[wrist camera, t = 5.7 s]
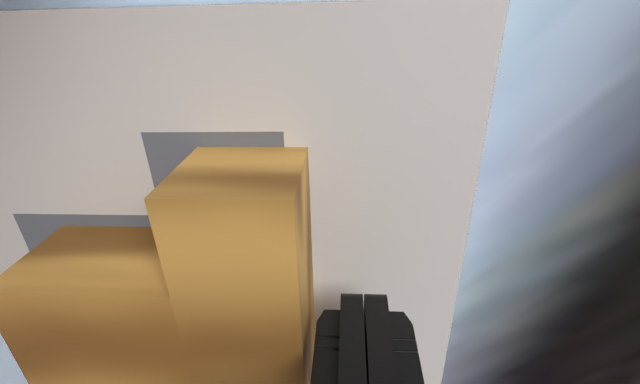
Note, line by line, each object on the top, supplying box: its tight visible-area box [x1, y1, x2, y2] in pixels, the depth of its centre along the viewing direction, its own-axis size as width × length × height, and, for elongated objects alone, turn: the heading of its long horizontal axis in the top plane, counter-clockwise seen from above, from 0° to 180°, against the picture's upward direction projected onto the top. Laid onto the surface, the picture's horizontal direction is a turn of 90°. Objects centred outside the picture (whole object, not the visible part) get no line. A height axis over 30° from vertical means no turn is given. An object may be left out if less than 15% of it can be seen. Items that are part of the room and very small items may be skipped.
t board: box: [0, 0, 510, 384], centre depth 15 cm, size 18×18×1 cm
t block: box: [0, 147, 315, 384], centre depth 13 cm, size 10×9×4 cm
